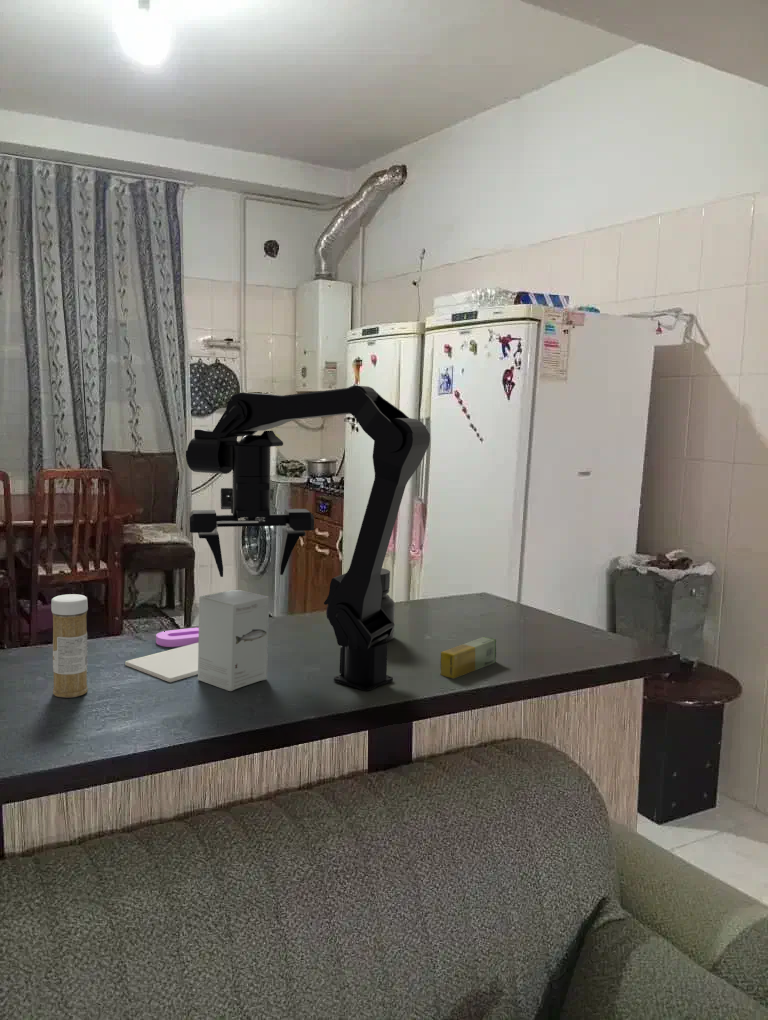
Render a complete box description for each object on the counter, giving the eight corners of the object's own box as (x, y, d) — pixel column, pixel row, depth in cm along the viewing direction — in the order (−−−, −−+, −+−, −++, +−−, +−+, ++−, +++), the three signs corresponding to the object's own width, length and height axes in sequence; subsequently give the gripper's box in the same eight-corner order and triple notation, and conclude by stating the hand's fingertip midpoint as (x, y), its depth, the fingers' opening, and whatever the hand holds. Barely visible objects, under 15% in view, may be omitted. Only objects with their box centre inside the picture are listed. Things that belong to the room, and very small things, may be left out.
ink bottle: (332, 633, 144) (334, 567, 143) (374, 627, 149) (376, 563, 148) (361, 648, 136) (364, 578, 135) (404, 641, 141) (407, 574, 140)
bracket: (226, 632, 144) (227, 593, 143) (237, 640, 139) (238, 600, 138) (152, 640, 137) (152, 599, 136) (161, 649, 132) (161, 607, 131)
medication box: (482, 659, 134) (483, 635, 133) (496, 662, 132) (497, 638, 132) (439, 676, 125) (439, 650, 124) (453, 680, 123) (454, 654, 122)
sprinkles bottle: (58, 687, 113) (57, 592, 111) (92, 687, 113) (91, 593, 112) (48, 699, 108) (46, 600, 107) (83, 699, 109) (82, 601, 107)
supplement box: (231, 692, 114) (232, 604, 112) (196, 680, 118) (197, 595, 116) (269, 679, 119) (270, 595, 118) (234, 668, 124) (235, 587, 122)
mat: (243, 660, 127) (243, 657, 127) (169, 682, 117) (170, 678, 117) (198, 645, 134) (198, 642, 134) (125, 664, 123) (125, 661, 123)
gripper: (303, 471, 135) (303, 564, 136) (187, 471, 130) (188, 567, 132) (315, 476, 124) (314, 577, 126) (189, 477, 119) (190, 581, 121)
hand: (251, 575), depth 126 cm, fingers open, 9 cm apart
